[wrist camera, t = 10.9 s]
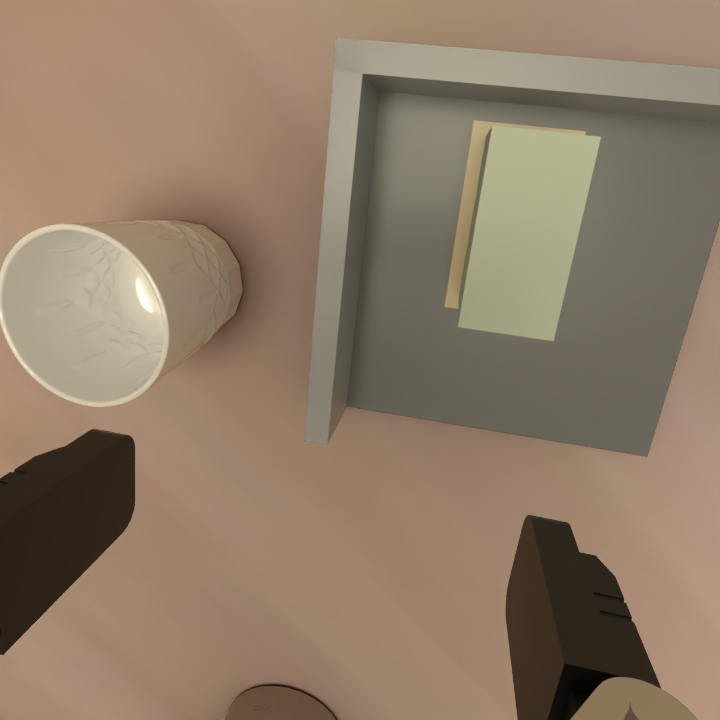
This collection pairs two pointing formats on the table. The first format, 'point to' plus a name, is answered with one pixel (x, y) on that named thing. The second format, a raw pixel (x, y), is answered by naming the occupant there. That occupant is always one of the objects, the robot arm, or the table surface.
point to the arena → (452, 227)
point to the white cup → (114, 303)
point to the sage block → (524, 230)
